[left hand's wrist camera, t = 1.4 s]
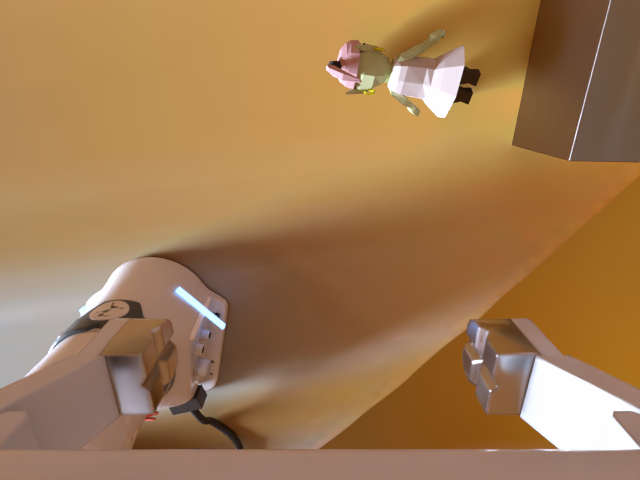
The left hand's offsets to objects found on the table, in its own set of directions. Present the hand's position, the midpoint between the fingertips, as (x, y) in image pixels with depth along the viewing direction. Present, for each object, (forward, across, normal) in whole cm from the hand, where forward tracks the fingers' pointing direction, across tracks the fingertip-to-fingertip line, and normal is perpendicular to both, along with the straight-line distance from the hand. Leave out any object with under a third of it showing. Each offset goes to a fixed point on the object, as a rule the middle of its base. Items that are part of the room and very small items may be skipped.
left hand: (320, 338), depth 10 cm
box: (+36, +26, +12) cm, 46 cm away
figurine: (+36, +8, +9) cm, 38 cm away
